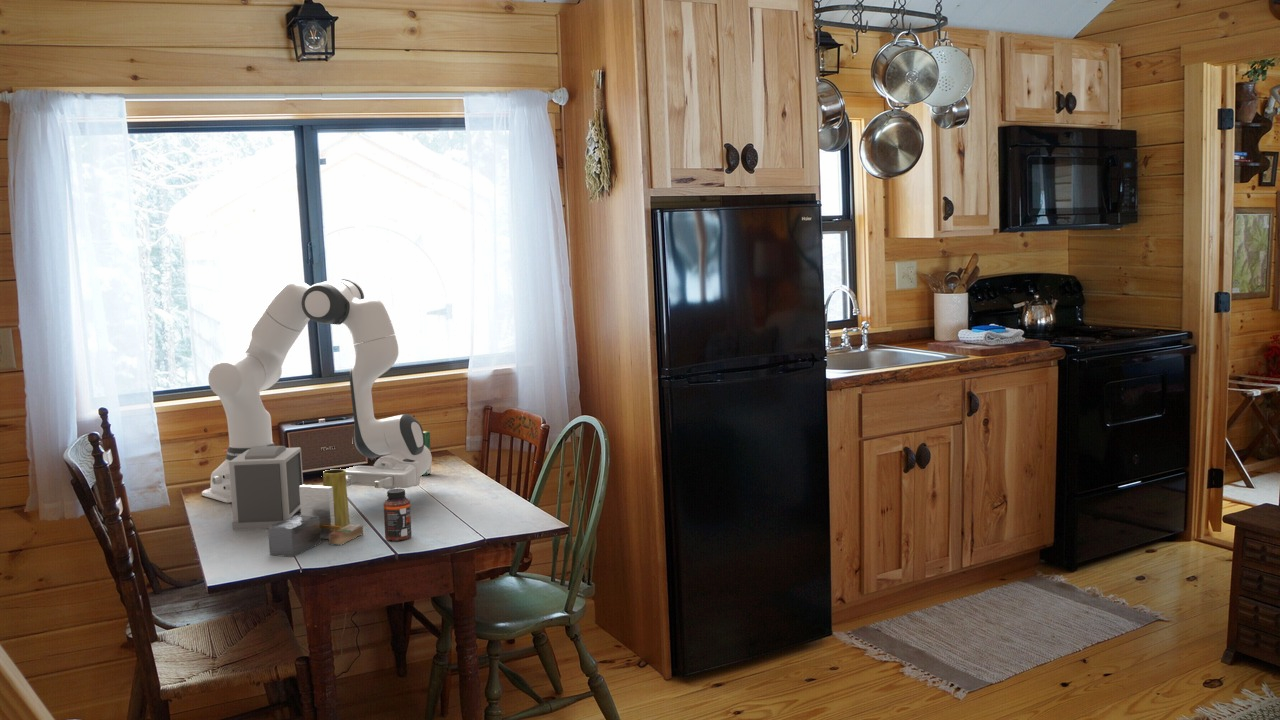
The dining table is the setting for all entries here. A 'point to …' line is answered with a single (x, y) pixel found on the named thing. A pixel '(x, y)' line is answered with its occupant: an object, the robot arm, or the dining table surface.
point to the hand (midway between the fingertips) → (360, 484)
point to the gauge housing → (294, 535)
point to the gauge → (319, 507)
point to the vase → (338, 495)
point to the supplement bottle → (397, 515)
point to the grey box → (265, 486)
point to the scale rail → (345, 534)
